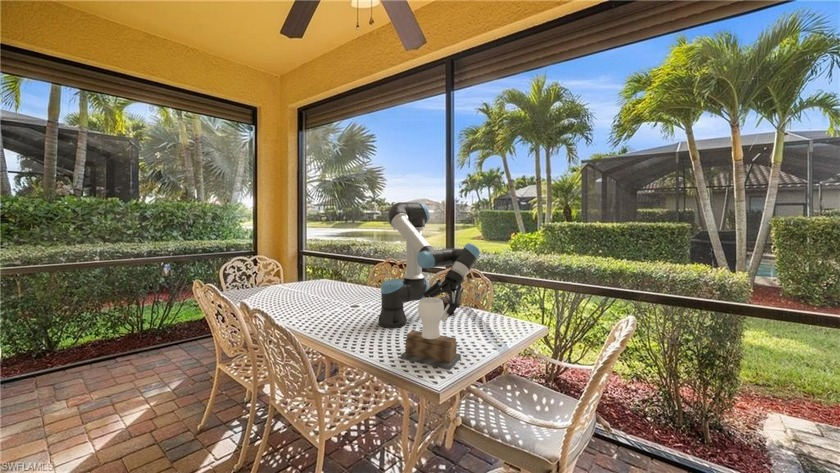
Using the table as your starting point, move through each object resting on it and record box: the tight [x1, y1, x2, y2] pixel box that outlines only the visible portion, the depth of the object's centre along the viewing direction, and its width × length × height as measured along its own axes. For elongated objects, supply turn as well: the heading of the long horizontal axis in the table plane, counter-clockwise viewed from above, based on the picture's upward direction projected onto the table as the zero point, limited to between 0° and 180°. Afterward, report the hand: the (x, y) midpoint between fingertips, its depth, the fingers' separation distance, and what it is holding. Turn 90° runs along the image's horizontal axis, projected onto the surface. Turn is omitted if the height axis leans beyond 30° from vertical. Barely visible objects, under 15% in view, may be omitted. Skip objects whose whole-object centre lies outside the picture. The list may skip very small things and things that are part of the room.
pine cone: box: [438, 296, 457, 316], centre depth 204 cm, size 10×18×10 cm, turn 89°
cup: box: [417, 296, 444, 339], centre depth 144 cm, size 11×11×15 cm
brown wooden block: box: [400, 329, 462, 371], centre depth 145 cm, size 22×12×10 cm, turn 64°
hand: (430, 315), depth 143 cm, fingers open, 13 cm apart
